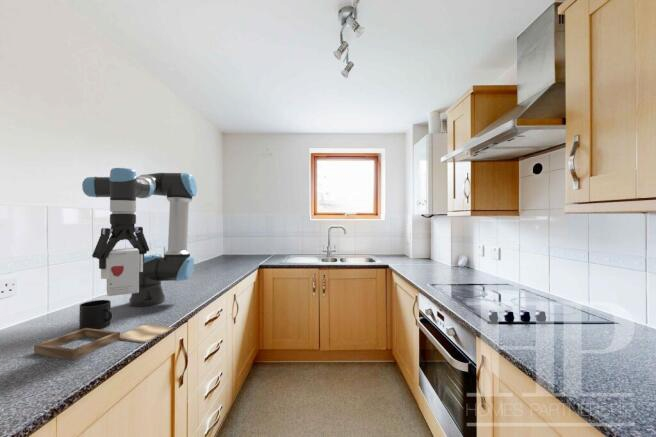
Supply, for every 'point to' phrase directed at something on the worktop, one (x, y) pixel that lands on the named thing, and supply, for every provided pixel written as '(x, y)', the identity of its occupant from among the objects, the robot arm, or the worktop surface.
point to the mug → (95, 314)
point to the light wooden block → (145, 333)
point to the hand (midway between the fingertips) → (123, 275)
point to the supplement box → (123, 271)
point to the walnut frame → (52, 345)
